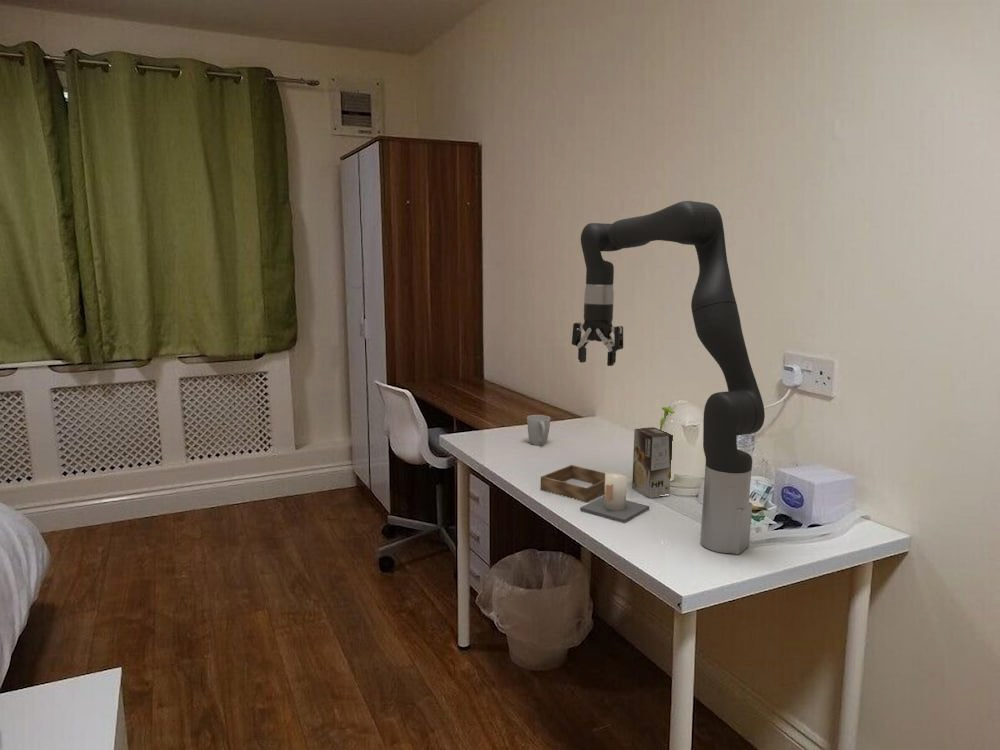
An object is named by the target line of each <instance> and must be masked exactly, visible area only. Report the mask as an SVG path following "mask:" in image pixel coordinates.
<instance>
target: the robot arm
mask: <svg viewBox="0 0 1000 750" xmlns="http://www.w3.org/2000/svg"><path fill="white" fill-rule="evenodd" d="M724 229H725V228H724V224H723V218H722V215H721V212H720V211H719V209H718V208H717V207H716V206H715V205H714V204H711V203H708V202H701V201H695V200H694V201H693V200H683V201H679V202H676V203H674V204H672V205H669V206H667V207H664V208H662V209H661V210H657V211H655V212H652V213H649V214H645V215H640V216H634V217H627V218H623V219H619V220H616V221H614V222H613V223H603V222H602V223H601V222H600V223H599V222H591V223H590V222H589V223H587V224H586V225H585V226H584V227H583V229H582V230H581V231H582V232H581V233H580V245H581V249H582V255H583V257H584V263H585V268H586V269H585V270H586V271H585V272H586V273H585V276H586V277H585V289H584V297H583V300H584V301H583V320H584V321H583V323H582V322H581V321H580V322H574V323H573V325H572V335H571V336H572V337H571V344H572V346H576V347H577V348H578V349H577V350H578V351H577V352H578V353H577V355H578V356H577V358H578V360H579V362H580V363H586V362H587V345H588V344H589V343H590V342H594V341H596V342H600V343H601V342H602V343H603V344H602V345H604V346H605V347H606V349H607V350H608V351H607V358H606V359H607V364H606V365H607V367H613V366H615V363H616V361H617V360H616V359H617V358H616V357H617V352H618V351H619V350H623V349H624V327H623V325H617V326H613V324H612V323H613V319H614V318H613V317H614V302H615V301H614V300H615V299H614V297H615V296H614V295H615V294H614V293H615V292H614V291H615V290H614V274H615V273H614V272H615V271H614V270H615V269H614V267H615V266H614V264H613V262H611V261H608V260H605V259H604V258H603V255H602V252H617V251H620V250H623V249H629V248H637V247H642V246H645V245H647V244H650V242H653V241H656V242H657V241H661V242H663V241H664V242H672V243H676V244H677V243H678V244H681V245H690V246H694V248H695V252H696V255H697V260H698V266H699V270H698V278H697V281H696V283H695V286H694V290H693V293H692V296H691V297H692V298H691V305H690V307H691V314H692V318H693V319H692V320H693V324H694V330H695V332H696V335H697V337H698V339H699V341H700V343H701V344H702V345H703V347H704V348H705V350H706V351H707V352H708V353H709V354H710V356H712V358H713V359H714V361H715V362H716V364H717V365H718V366H719V368H720V370H721V371H722V375H723V376H724V379H725V383H726V386H727V391H719V392H718V391H717V392H714V393H713V394H711V395H710V396H709V397H708V398H707V400H706V402H705V404H704V409H703V421H702V422H703V428H702V431H703V433H702V437H703V438H702V440H703V441H702V446H703V447H702V448H703V453H704V456H705V466H704V467H705V468H704V483H703V493H702V495H703V496H702V497H703V498H702V508H701V509H702V511H701V512H702V513H701V522H700V523H701V526H700V539H699V540H700V541H699V542H700V544H701V546H702V547H704V548H706V549H707V550H711V551H713V552H717V553H723V554H733V555H740V554H742V552H743V551H745V550H746V549H748V547H750V538H751V524H752V513H753V512H752V511H753V504H752V503H751V502H750V496H751V495H750V494H751V483H752V471H753V470H752V467H753V458H752V456H751V455H750V453H748V452H746V451H743V450H740V449H738V445H737V444H738V443H737V442H738V439H737V438H738V437H737V436H744V435H752V434H756V433H757V432H759V431H760V430H761V429H762V427H763V426H764V423H765V418H766V417H765V415H766V413H765V405H764V401H763V397H762V395H761V392H760V389H759V385H758V382H757V380H756V377H755V374H754V372H753V368H752V365H751V361H750V358H749V353H748V350H747V346H746V341H745V337H744V334H743V329H742V324H741V317H740V312H739V309H738V304H737V299H736V297H735V293H734V289H733V284H732V279H731V273H730V268H729V263H728V262H729V261H728V256H727V248H726V240H725V239H726V237H725V230H724ZM583 331H584V334H583V335H582V332H583ZM611 333H613V335H614V337H613V336H612V335H611Z"/></svg>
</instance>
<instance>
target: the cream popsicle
mask: <svg viewBox="0 0 1000 750" xmlns="http://www.w3.org/2000/svg"><path fill="white" fill-rule="evenodd" d="M604 473H605V491H604V495H603V496H604V507H605V508H606V509H609V510H615V511H619V510H624V509H625V508H626V500H627V492H628V491H627V490H628V488H627V487H628V474H627V473H625V472H622V471H620V470H619V471H618V470H617V471H615V470H612V471H606V472H604Z"/></svg>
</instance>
